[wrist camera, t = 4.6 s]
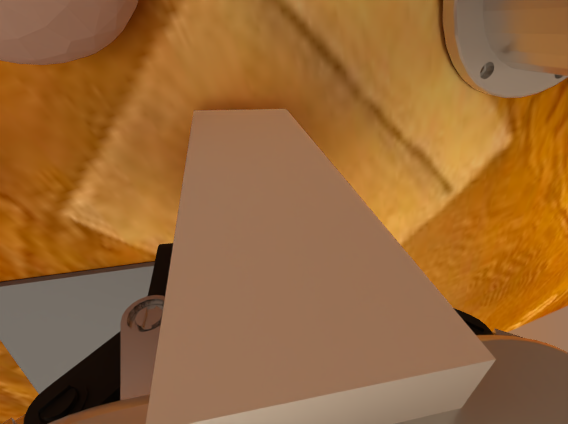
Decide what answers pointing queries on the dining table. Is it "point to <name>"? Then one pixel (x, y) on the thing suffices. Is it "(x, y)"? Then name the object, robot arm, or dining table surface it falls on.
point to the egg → (59, 28)
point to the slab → (296, 294)
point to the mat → (66, 316)
